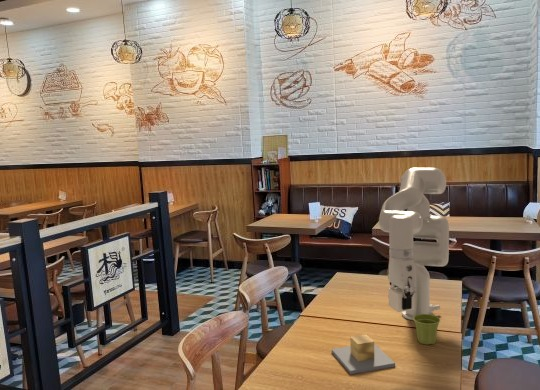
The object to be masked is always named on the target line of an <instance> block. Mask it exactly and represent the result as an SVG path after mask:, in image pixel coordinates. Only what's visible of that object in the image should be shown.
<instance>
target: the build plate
mask: <svg viewBox="0 0 540 390" xmlns="http://www.w3.org/2000/svg"><path fill="white" fill-rule="evenodd" d="M331 353H332V355H334V357H335V358H336V359H337V361H339V362H340V364H341V365H342V366H343V368H344V369H345V370H346V371H347V372H348V373H349V375H354V374H359V373H360V374H361V373H367V372H373V371H378V370H382V369H389V368H395V367H396V362H395V361H394V360H393V359H391V358H390V356H388V355H387V354H386V353H385V352H384V351H383V350H382V349H381V348H380V347H379V346H378V345H376V344H375V343H374V359H368V360H362V361H357V359H356V358H355V357H354V356H353V355H352V354H351V347H350V345H349V346H343V347H336V348H332V349H331Z"/></svg>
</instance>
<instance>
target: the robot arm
mask: <svg viewBox="0 0 540 390" xmlns="http://www.w3.org/2000/svg"><path fill="white" fill-rule="evenodd" d="M446 188H447V178H446V176H445V173H444V172H443V171H442V169H440V168H437V167H411V168H409V169H406V170H405V172H404V173H403V174H402V175H401V177H400V186H399V191H398V192H396V193H394V194H392V195H391V196H389V197H388V198H387V199H386V200H385V201H384V202H383V204H382V206H381V210H380V213H379V217H378V226H379V228H380V230H381V231H382V232H385V233H388V235H389V238H388V241H389V247H388V248H389V255H388V256H389V259H388V260H389V261H388V276H387V279H388V281H389V285H390V288H397V287H399V288H401V289H402V293H403V297H404V298H402V309H403V310H407V309H411V308H412V297H413V295H414V310H409V311H402V312H401V316H402V317H403V318H404V319H406V320H410V321H413V322H415V321H414V320H413V317H414V316H415V315H418V314H430V315H434V313H433V312H434V311H440V309H441V306H440V304H435V305H434V304H433V303H430V302H431V301H430V300H431V299H430V297H431V294H430V293H431V292H430V287H431V286H430V284H431V281H430V280H431V277H430V273H429V271H428V270H427V268H426V267H425V266H428V267H429V266H430V267H445V266H447V265H448V263H449V255H450V253H449V252H450V251H449V250H450V249H449V247H450V246H449V245H450V243H449V242H450V226H449V225H450V224H449V221H448V219H447V218H446V217H445V216H442V215H431V213H430V207H431V205H430V201H429V199H428V198H427V197H426V195H427V194H428V195H441V194H443V193H444V192H445V190H446ZM425 194H426V195H425ZM406 210H407V211H406ZM414 238H415V239H426V240H427V239H429V240H436V242H435V241H434V242H432V241H431V242H430V241H418V240H415V241H414ZM405 290H408V292H407V293H406V291H405Z"/></svg>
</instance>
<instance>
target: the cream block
mask: <svg viewBox="0 0 540 390" xmlns="http://www.w3.org/2000/svg"><path fill="white" fill-rule="evenodd" d="M405 291H406V293H407V292H408V290H405ZM402 298H404V297H403V293H402V289H401V288H399V287H397V288H391V287H390V288H388V307H390V308H391V309H392V310H394V311H396V312H397V313H402V311H409V310H414V295H413V297H412V308H411V309H407V310H403V309H402Z"/></svg>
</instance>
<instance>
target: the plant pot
mask: <svg viewBox="0 0 540 390" xmlns="http://www.w3.org/2000/svg"><path fill="white" fill-rule="evenodd" d="M413 320H414V321H413ZM413 320H412V321H413V322H414V324H415V329H416V335H417V336H416V337H417V341H418V342H419V343H420V344H423V345H434V344H435V343H436V340H437V335H438V334H437V333H438V327H439V325H440V322H441V319H440V317H439V316H436V315H435V314H433V315H430V314H418V315H415V316H414V317H413Z"/></svg>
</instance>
